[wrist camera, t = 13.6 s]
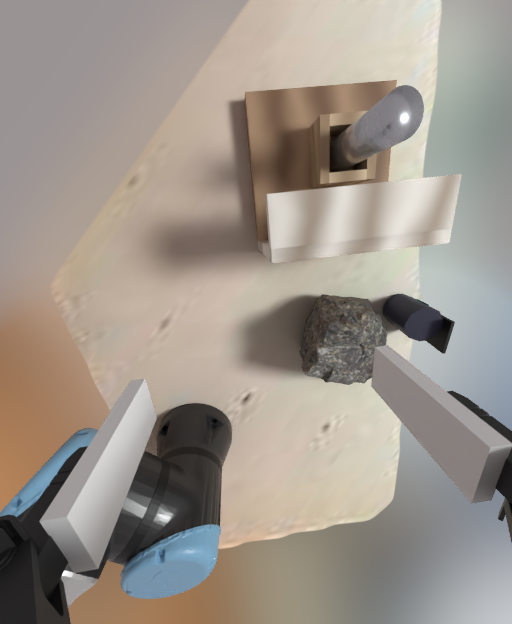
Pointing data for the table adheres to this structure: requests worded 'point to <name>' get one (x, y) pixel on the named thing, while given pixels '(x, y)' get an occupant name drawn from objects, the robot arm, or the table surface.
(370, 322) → the rock
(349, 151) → the peg
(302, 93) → the socket board
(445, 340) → the speaker
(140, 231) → the table surface
